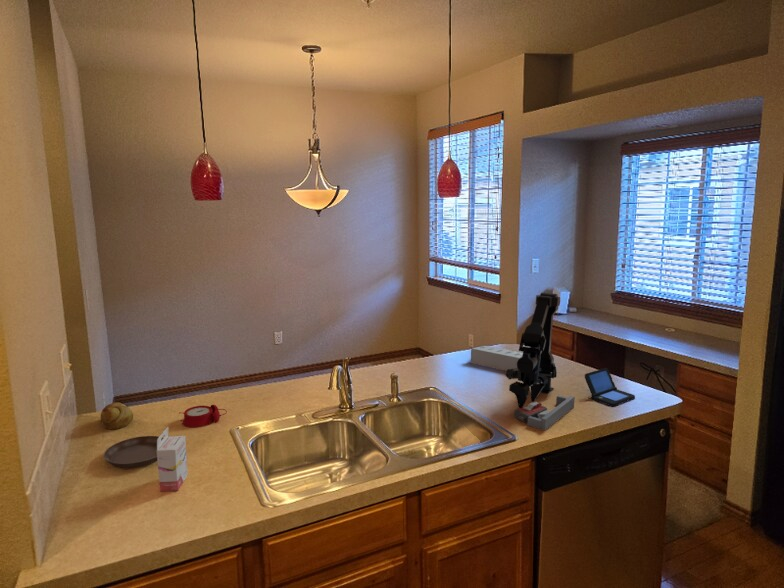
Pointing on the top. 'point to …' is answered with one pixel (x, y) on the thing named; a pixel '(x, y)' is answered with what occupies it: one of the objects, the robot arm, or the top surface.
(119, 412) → the snail shell
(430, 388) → the top surface
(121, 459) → the plant saucer
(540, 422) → the grey u-shaped bracket
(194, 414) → the alarm clock
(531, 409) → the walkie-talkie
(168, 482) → the ink cartridge box
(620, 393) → the handheld game console
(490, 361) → the low grey-white block
